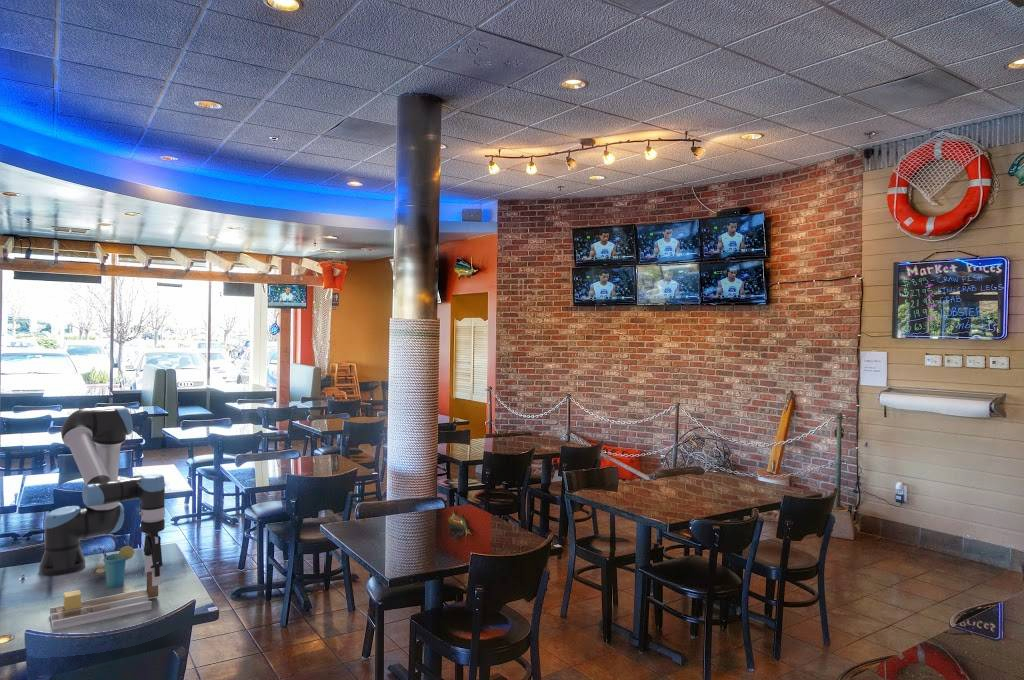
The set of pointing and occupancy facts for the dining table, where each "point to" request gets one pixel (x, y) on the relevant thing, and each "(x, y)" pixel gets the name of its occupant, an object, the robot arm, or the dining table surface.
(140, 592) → the strip
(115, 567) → the cup
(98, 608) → the broken strip
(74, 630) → the dining table surface
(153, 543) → the robot arm
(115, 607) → the lane board
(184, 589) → the dining table surface
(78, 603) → the cube
